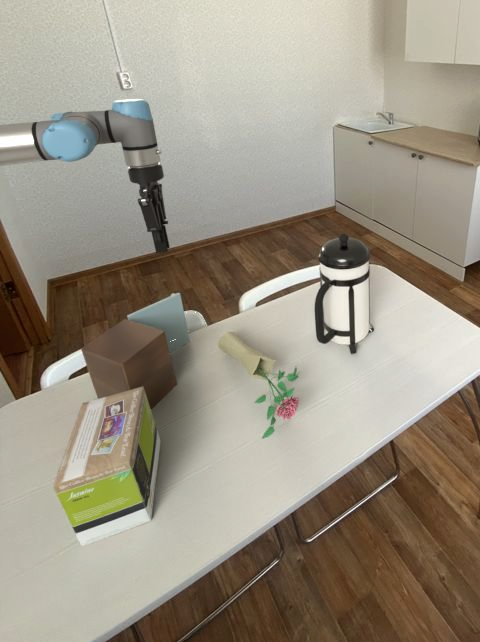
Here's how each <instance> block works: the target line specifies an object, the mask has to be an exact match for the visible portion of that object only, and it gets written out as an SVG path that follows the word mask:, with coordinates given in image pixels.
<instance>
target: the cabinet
mask: <svg viewBox="0 0 480 642" xmlns="http://www.w3.org/2000/svg"><path fill="white" fill-rule="evenodd" d="M80 351H81V352H82V356H83V359H84V361H85V365H86V368H87V371H88V374H89V377H90V380H91V383H92V385H93V388H94V392H95V395H96V397H97V398H96V399H100V398H104V397H107V396H111V395H114V394H118V393H122V392H125V391H129V390H132V389H136V388H139V387H142V386H143V387H144V390H145V393H146V396H147V400H148V403H149V406H150V409H151V410H152V409H154V407H155V406H157V404H159V403H160V401H162V400H163V399H164V398H165V397H166V396H167V395H168V394H169V393H170V392H171V391H172V390H173V389H174V388H175V387H176V386H177V385H178V382H177V378H176V373H175V370H174V365H173V361H172V360H173V359H172V356H171V352H169V348H168V343H167V339H166V335H165V331H162V330H159V329H156V328H153V327H149V326H146V325H143V324H140V323H136V322H133V321H130V320H128V318H123V319H122V320H121V321H120V322H117V323H116V324H114V325H113V326H112V327H111V328H108V330H106V331H104V332H103V333H102V334H100V335H99V336H97V337H96V338H94V339H93V340H91V341H90V342H88V343H86V344H85V345H83V346H82V347H81V348H80Z"/></svg>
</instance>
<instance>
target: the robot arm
mask: <svg viewBox="0 0 480 642" xmlns="http://www.w3.org/2000/svg"><path fill="white" fill-rule="evenodd" d="M111 104H112V107H111V109H106V110H89V111H67V112H57V113H53V114H52V115H51V116H50V120H41V121H30V122H29V121H28V122H17V123H6V124H5V123H4V124H0V167H4V166H11V165H19V164H27V163H36V162H44V161H45V162H46V161H56V160H57V161H62V162H69V163H70V162H77V161H81V160H83V159H85V158H87V157H88V156H89V155H91V153H93V151H94V149H95V148H96V147H97V146H98V145H105V144H106V145H107V144H117V143H120V144H121V148H122V153H123V159H124V161H125V165H126V166H127V174H128V178H129V182H131V183H133V184H137V185H139V189H138V194H139V197H140V198H139V197H138V198H137V204H138V205H139V208H140V210H141V213H142V216H143V220H144V223H145V227H146V232H147V233H151V236H152V240H153V245H154V249H155V253H156V254H161V253H168V252H169V251H168V250H169V249H170V248H171V247H170V242H169V237H168V233H167V227H166V225H169V220H167V213H166V208H165V207H166V206H165V201H164V195H163V184H162V182H159V181H160V180H162V179H163V178H165V174H164V169H163V165H162V163H161V156H160V155H161V154H162V150H161V149H159V144H158V140H157V133H156V128H155V124H154V118H153V115H152V110H151V106H150V104H149V102H148V101H147V100H146V99H142V98H132V99H131V98H129V99H119V100H114V101H113V102H112V103H111Z"/></svg>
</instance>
